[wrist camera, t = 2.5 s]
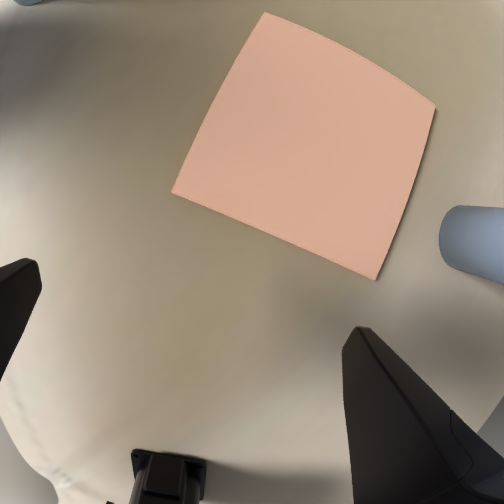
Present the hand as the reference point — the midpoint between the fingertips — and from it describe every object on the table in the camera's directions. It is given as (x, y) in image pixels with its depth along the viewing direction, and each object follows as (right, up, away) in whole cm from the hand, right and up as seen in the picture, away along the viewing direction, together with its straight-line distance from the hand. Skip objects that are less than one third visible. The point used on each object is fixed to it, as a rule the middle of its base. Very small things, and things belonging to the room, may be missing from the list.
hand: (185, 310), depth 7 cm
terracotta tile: (+6, +9, +10) cm, 15 cm away
